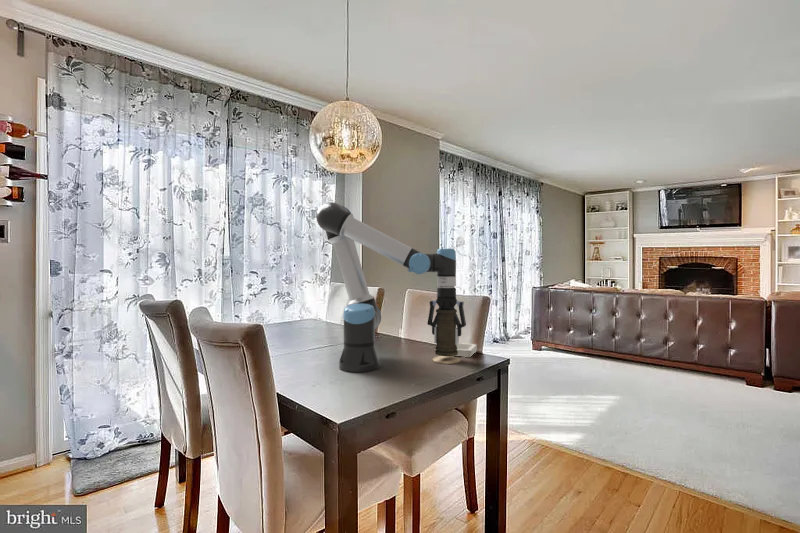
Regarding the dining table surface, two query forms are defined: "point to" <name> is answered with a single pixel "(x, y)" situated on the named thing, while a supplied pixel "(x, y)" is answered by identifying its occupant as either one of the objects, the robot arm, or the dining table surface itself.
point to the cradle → (466, 349)
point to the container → (446, 333)
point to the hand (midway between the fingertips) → (446, 343)
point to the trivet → (446, 359)
